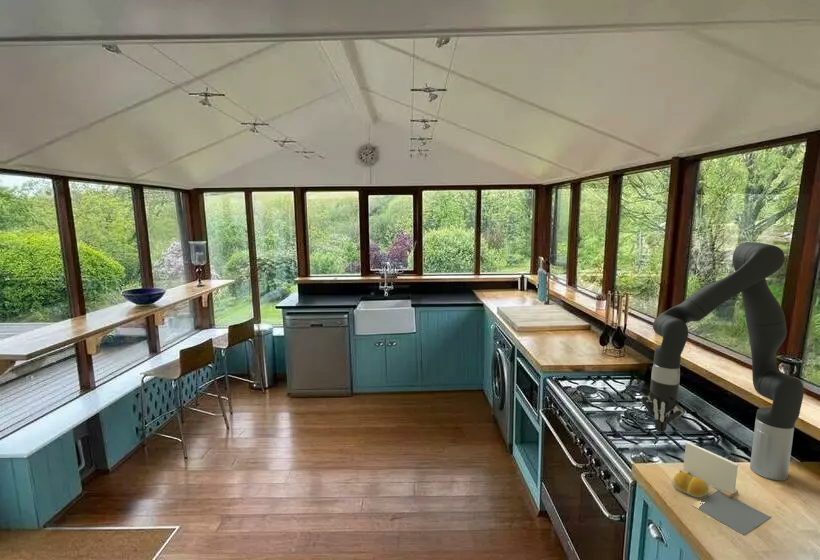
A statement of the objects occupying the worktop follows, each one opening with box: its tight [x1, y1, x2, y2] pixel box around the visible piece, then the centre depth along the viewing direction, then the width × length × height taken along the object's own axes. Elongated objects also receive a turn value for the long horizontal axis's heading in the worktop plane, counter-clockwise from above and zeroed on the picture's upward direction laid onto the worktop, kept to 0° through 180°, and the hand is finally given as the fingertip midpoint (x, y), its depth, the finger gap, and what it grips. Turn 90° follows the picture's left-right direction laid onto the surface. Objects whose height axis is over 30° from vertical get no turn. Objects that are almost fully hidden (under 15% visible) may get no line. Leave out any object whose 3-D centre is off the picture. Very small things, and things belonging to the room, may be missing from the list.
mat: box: [698, 489, 771, 536], centre depth 118 cm, size 14×13×1 cm
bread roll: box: [671, 471, 709, 498], centre depth 127 cm, size 8×9×4 cm
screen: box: [679, 441, 739, 498], centre depth 129 cm, size 5×14×10 cm, turn 27°
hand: (660, 430), depth 134 cm, fingers closed
